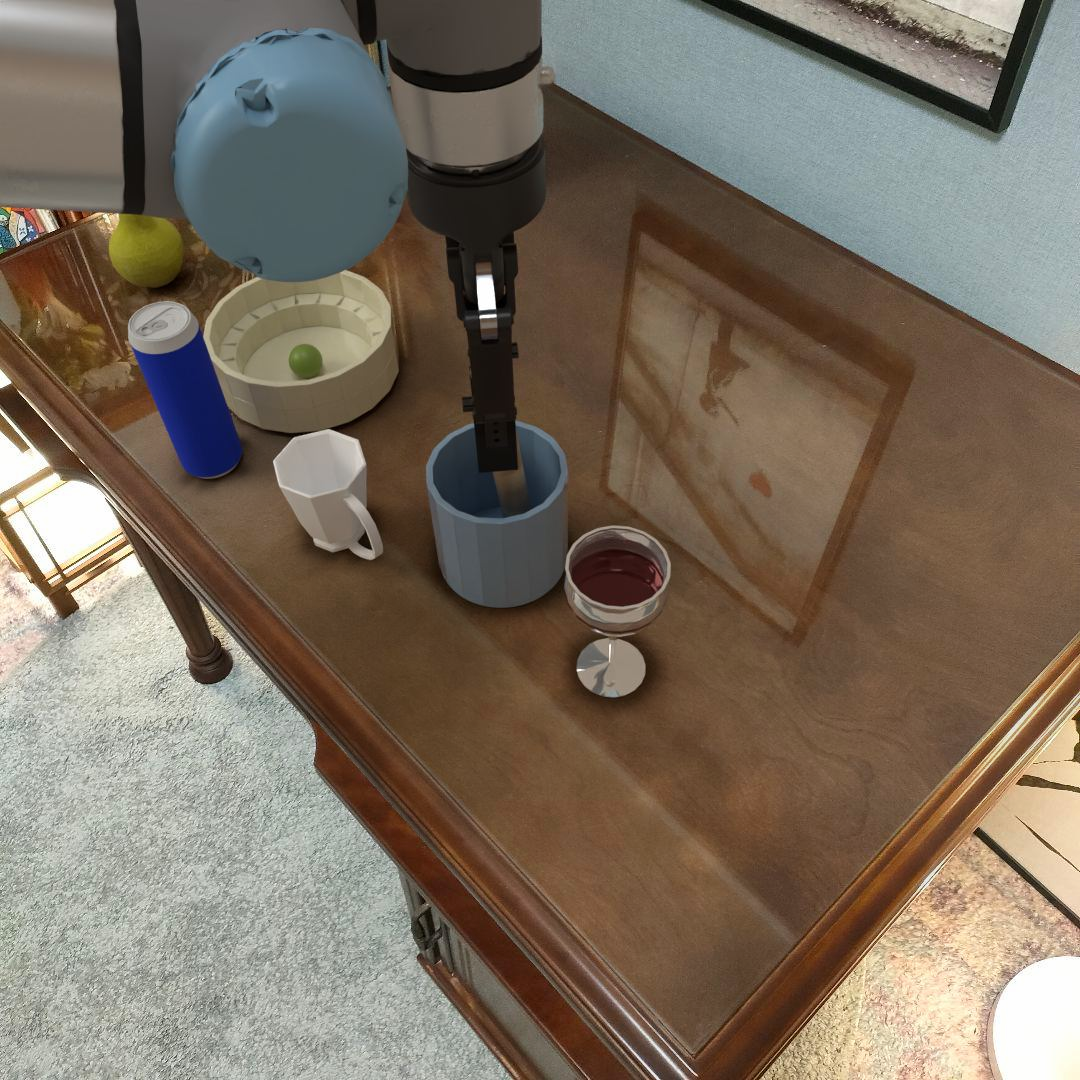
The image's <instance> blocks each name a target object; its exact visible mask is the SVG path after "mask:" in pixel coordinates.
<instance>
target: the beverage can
mask: <svg viewBox="0 0 1080 1080" xmlns="http://www.w3.org/2000/svg"><path fill="white" fill-rule="evenodd" d="M203 335H204V334H203V332H202V329H201V325H200V323H199V321H198V318H197V317H196V316H195V315H194V313H192V311H191V310H190V309H189V308H188V307H187V306H186V305H184V304H181V302H176V301H171V300H170V301H169V300H168V301H164V300H163V301H155V302H153V303H152V302H151V303H150V304H147V305H145V306H143V307H140V308H139V309H137V310H136V311H135V312H134V313H133V314H132V315H131V317H130V318H129V321H128V323H127V337H128V339H127V340H128V343H129V345H130V348H131V350H132V352H133V354H134V356H135V359H136V362H137V364H138V366H139V369H140V372H141V374H142V375H143V378H144V380H145V383H146V385H147V387H148V390H149V392H150V394H151V397H152V399H153V401H154V404H155V406H156V408H157V411H158V414H159V416H160V418H161V420H162V423H163V425H164V428H165V430H166V432H167V434H168V437H169V439H170V442H171V444H172V446H173V448H174V450H175V453H176V456H177V457H178V460H179V462H180V464H181V466H182V469H183V470H184V471H185V472H186V473H188V474H189V475H191V476H194V477H196V478H199V479H206V480H209V479H210V480H211V479H217V478H221V477H223V476H225V475H228V474H229V473H230V472H231V471H233V470H234V469H235V468H236V467H237V465H238V464H239V462H240V460H241V458H242V455H243V446H242V443H241V440H240V437H239V435H238V431H237V428H236V426H235V422H234V420H233V418H232V417H233V416H232V415H231V411H230V408H229V407H228V406H227V403H226V400H225V397H224V394H223V391H222V389H221V386H220V383H219V380H218V377H217V374H216V372H215V369H214V366H213V363H212V360H211V357H210V355H209V352H208V349H207V346H206V343H205V340H204V337H203Z"/></svg>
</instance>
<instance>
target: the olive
mask: <svg viewBox="0 0 1080 1080" xmlns="http://www.w3.org/2000/svg"><path fill="white" fill-rule="evenodd" d="M288 361H289V366H290V368H291V370H292V371H293V372H294V373H295V374H296V375H298V376H300V377H303V378H309V377H312V376H315V375H316V374H317V373H318V372H319V371H320V369H321V367H322V363H323V359H322V355H321V353H320V352H319V350H318V349H317V348H316V347H314V346H312V345H310V344H300V345H298V346H296V347H294V348H293V349H292V351H291V352H290V354H289V359H288Z"/></svg>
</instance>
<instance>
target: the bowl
mask: <svg viewBox="0 0 1080 1080" xmlns="http://www.w3.org/2000/svg"><path fill="white" fill-rule="evenodd" d="M394 323H395V322H394V317H393V310H392V306H391V304H390V302H389V300H388V298H387V297H386V295H385V293H384V291H383V290H382V289H381V288H380V287H378V286H377V285H376V284H375V283H373V282H372V281H371V280H369V278H367V277H365V276H363V275H360V274H358V273H355V272H353V271H350V270H348V269H346V270H344V271H342V272H340V273H338V274H335V275H332V276H329V277H326V278H322V279H318V280H314V281H307V282H279V281H271V280H266V279H262V278H258V277H257V276H255V277H254V278H252V279H249V280H248V281H246V282H243V283H241V284H239V285H238V286H236V287H235V288H233V289H232V290H231V291H229V293H227V294H226V295H225V296H224V297H222V298H221V299H220V300H218V302H217V303H216V304H215V306H214V308H213V309H212V311H211V312H210V314H209V315H208V317H207V319H206V320H205V324H204V330H203V334H202V335H203V337H204V340H205V343H206V346H207V349H208V352H209V355H210V357H211V360H212V363H213V366H214V369H215V372H216V374H217V377H218V380H219V383H220V386H221V389H222V391H223V394H224V397H225V400H226V403H227V406H228V409H229V410H231V411H232V412H233V413H234V414H235V415H236V416H237V417H238V418H239V419H240V420H243V421H245V422H246V423H249V424H251V425H253V426H256V427H258V428H259V429H262V430H267V431H274V432H280V433H281V432H282V433H287V434H295V433H296V434H298V433H310V432H319V431H323V430H327V429H331V428H333V427H338V426H340V425H344V424H347V423H350V422H351V421H352V422H353V420H355V419H357V418H359V417H360V416H362V415H363V414H365V413H367V412H368V411H369V412H370V411H371V410H372V409H373V408H375V407H376V406H377V405H378V403H379V402H381V400H383V398H385V396H386V395H387V394H388V393H390V391H391V389H392V387H393V385H394V382H395V380H396V378H397V376H398V374H399V371H400V368H399V367H400V365H399V364H400V362H399V361H400V359H399V357H400V355H399V349H398V342H397V336H396V335H397V334H396V330H395V324H394ZM300 344H310V345H312V346H314V347H316V348H317V349H318V350H319V352H320V353H321V355H322V359H323V363H322V367H321V369H320V371H319V372H318V373H317V374H316V375H315V376H312V377H309V378H303V377H300V376H298V375H296V374H295V373H294V372H293V371H292V370H291V368H290V366H289V361H288V359H289V354H290V352H291V351H292V349H293V348H294V347H296V346H298V345H300Z"/></svg>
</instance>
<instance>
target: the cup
mask: <svg viewBox="0 0 1080 1080" xmlns="http://www.w3.org/2000/svg"><path fill="white" fill-rule="evenodd" d="M272 463H273V467H274V471H275V476H276V479H277V483H278V488H279V489H280V490H281V492H282V494H283V496H284V497H285V499H286V501H287V502H288V504H289V506H290V508H291V509H292V511H293V513H294V514H295V517H296V518H297V520H298V523H299V524H300V525H301V526H302V527H303V528H304V530H305V531H306V532H307V533H308V535H309V536H310V537H311V538H312V539H313V544H314V546H316V547H318V548H320V549H323V550H326V551H328V552H330V553H336V552H340V551H343V550H346V549H349V550H350V551H351V552H352V554H354V555H356V556H358V557H360V558H362V559H365V560H368V561H373V560H374V559H376V558H378V557H379V556H381V555H382V554H384V545H383V542H382V541H383V540H382V538H381V535H380V532H379V530H378V527H377V525H376V522H375V521H374V519H373V518H372V516H371V513H370V512H369V511H368V510H367V509H368V508H367V503H368V502H367V501H368V500H367V462H366V459H365V456H364V453H363V449H362V446H361V444H360V440H359V439H358V438H354V437H352V436H349V435H346V434H343V433H341V432H338V431H335V430H333V429H331V428H328V429H324V430H320V431H314V432H311V433H307V434H303V435H298V436H294V437H293V438H292V439H291V440H290V441H289V442H288V443H287V444H286V445H285V446H284V448H283V449H282V450H281V451H280V452H279V453H278V454H277V455H276V457H275V458H274V459H273V460H272ZM365 533H366V534H367V537H368V540H369V542H370V546H371V549H368V548H366V547H365V546H362V545H361V544H360V543H359V540H360V539H361V538H362V536H363V535H364V534H365Z"/></svg>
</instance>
